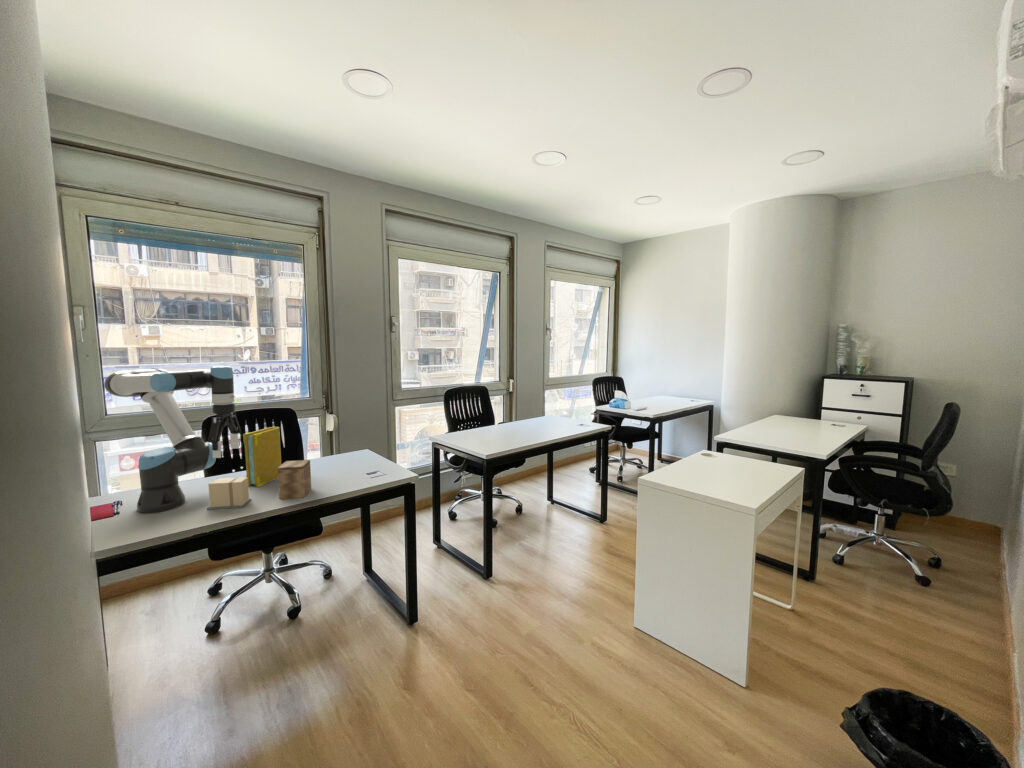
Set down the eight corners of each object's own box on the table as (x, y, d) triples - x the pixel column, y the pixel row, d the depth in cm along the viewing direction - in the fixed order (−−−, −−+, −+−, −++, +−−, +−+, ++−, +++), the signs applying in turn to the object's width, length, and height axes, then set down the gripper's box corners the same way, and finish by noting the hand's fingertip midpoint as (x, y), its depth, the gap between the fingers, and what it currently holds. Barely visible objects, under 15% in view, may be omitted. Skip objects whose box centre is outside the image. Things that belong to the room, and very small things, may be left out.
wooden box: (279, 499, 175) (277, 467, 173) (288, 490, 185) (286, 460, 184) (304, 497, 177) (302, 466, 175) (311, 488, 187) (310, 459, 185)
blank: (210, 507, 164) (208, 483, 163) (218, 501, 170) (216, 478, 169) (242, 505, 166) (240, 481, 165) (249, 499, 173) (247, 476, 171)
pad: (207, 509, 163) (207, 508, 163) (217, 501, 171) (217, 500, 171) (242, 507, 166) (242, 506, 166) (251, 500, 174) (251, 498, 173)
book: (258, 486, 189) (255, 434, 186) (246, 485, 190) (243, 434, 187) (285, 475, 205) (282, 427, 203) (274, 474, 207) (271, 426, 204)
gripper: (216, 408, 155) (219, 461, 158) (248, 398, 180) (250, 444, 182) (194, 408, 154) (198, 462, 157) (229, 398, 179) (232, 444, 181)
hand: (226, 452), depth 169 cm, fingers open, 13 cm apart
